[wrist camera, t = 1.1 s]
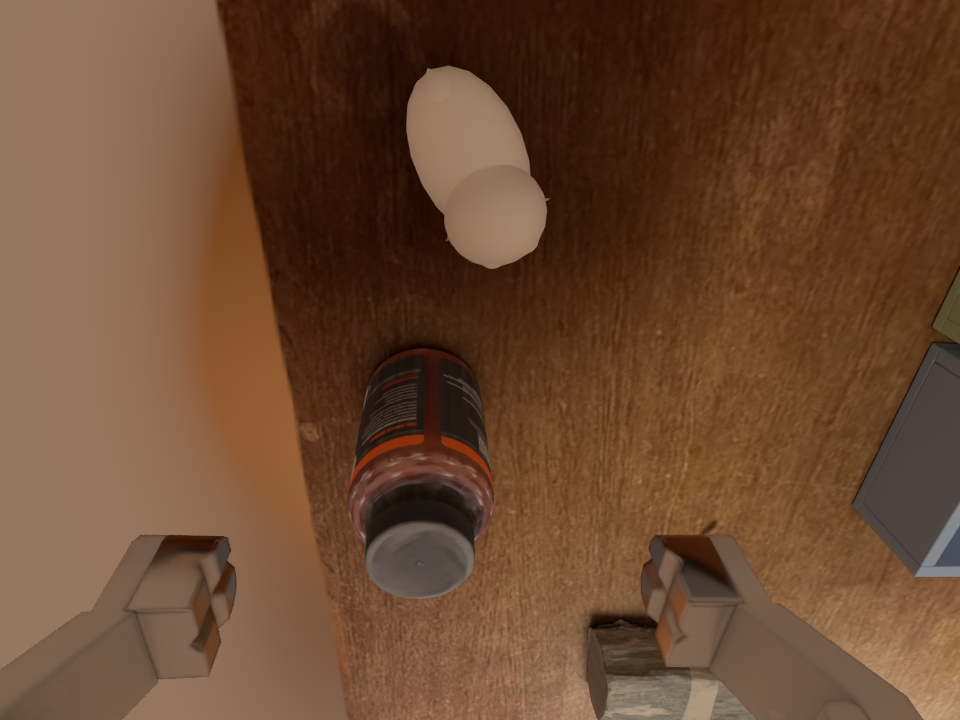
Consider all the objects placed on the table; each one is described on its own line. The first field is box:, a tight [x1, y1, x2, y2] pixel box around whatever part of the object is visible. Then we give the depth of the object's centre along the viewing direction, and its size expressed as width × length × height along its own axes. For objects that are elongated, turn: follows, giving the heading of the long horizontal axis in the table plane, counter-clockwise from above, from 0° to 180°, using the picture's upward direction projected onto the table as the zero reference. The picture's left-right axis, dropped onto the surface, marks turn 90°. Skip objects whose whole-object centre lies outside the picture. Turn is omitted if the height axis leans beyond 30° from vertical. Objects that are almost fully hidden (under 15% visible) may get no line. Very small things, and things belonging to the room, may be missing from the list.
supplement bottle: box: [348, 348, 494, 599], centre depth 26 cm, size 6×6×11 cm
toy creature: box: [406, 66, 550, 269], centre depth 22 cm, size 5×8×6 cm, turn 25°
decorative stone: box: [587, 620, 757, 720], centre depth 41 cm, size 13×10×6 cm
